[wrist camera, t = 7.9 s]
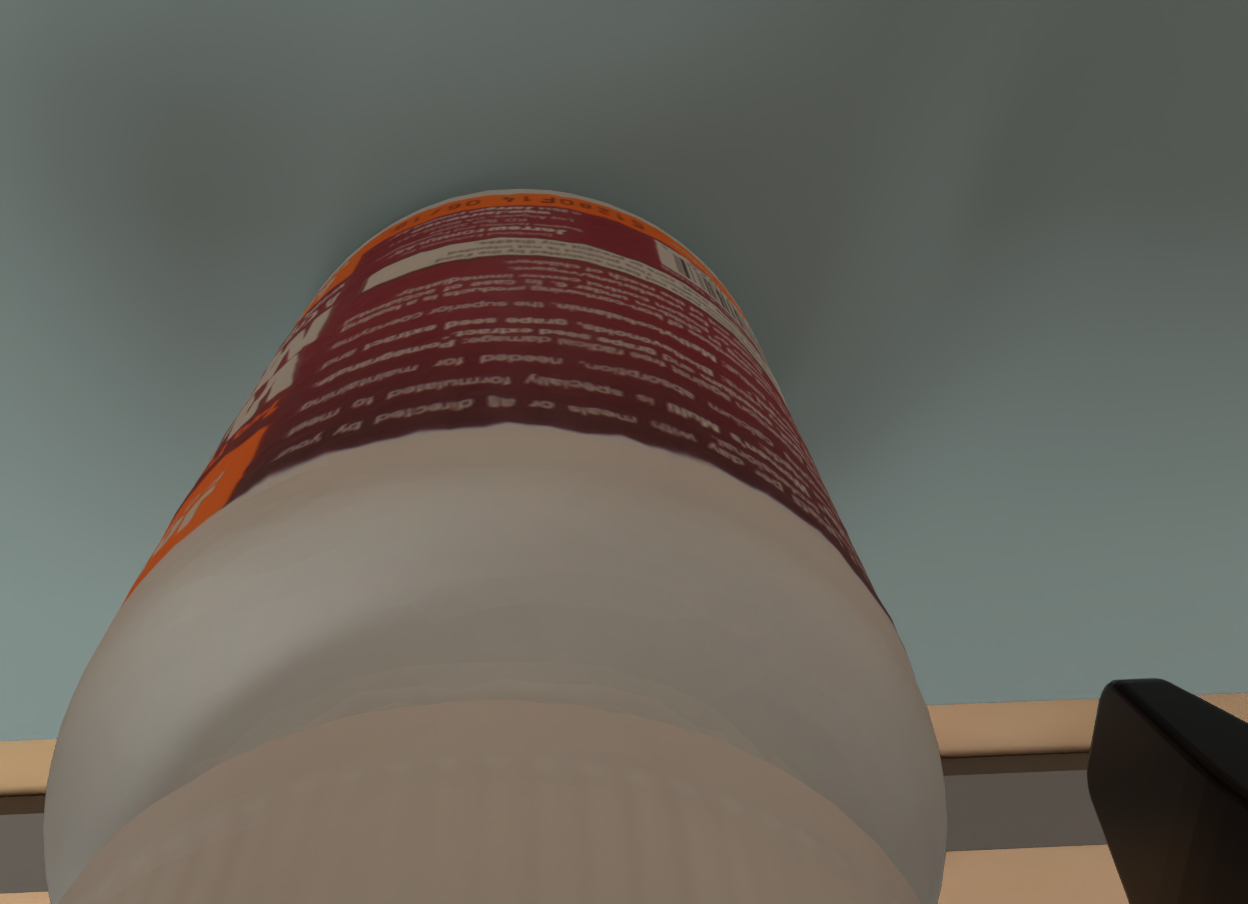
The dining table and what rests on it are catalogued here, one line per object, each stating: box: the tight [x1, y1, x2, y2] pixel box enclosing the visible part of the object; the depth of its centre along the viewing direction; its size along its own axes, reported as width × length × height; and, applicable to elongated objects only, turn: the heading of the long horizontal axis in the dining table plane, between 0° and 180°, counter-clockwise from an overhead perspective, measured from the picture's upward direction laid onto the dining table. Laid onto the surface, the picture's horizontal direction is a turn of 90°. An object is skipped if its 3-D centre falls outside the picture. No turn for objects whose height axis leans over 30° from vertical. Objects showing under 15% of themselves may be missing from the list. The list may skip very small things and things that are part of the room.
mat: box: [0, 0, 1248, 741], centre depth 16 cm, size 10×24×1 cm, turn 91°
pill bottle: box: [43, 189, 947, 904], centre depth 10 cm, size 6×6×11 cm
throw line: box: [0, 753, 1107, 893], centre depth 18 cm, size 2×24×1 cm, turn 91°
